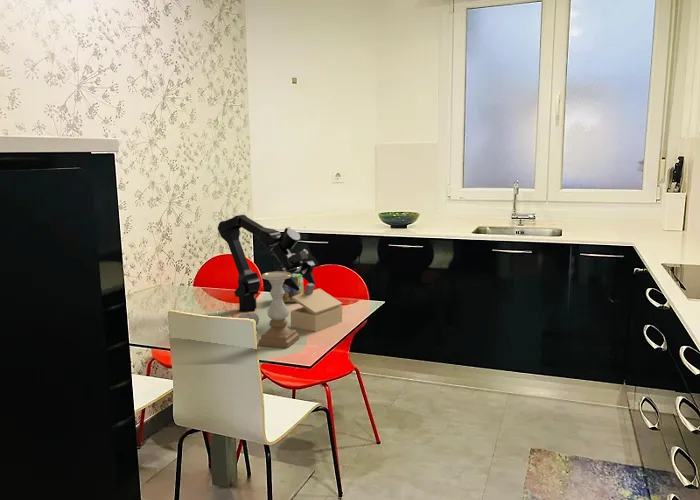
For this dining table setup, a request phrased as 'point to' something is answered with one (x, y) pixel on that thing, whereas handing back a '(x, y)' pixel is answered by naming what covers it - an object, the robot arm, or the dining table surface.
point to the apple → (250, 316)
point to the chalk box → (292, 292)
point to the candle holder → (278, 315)
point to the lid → (316, 300)
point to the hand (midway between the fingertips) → (306, 287)
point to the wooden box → (315, 318)
